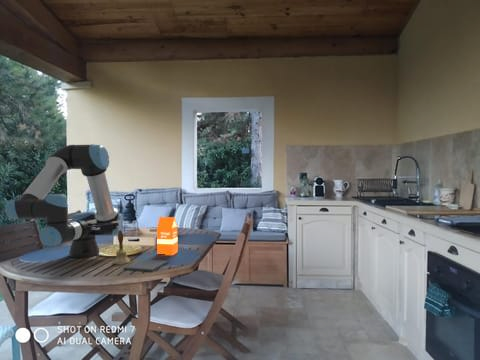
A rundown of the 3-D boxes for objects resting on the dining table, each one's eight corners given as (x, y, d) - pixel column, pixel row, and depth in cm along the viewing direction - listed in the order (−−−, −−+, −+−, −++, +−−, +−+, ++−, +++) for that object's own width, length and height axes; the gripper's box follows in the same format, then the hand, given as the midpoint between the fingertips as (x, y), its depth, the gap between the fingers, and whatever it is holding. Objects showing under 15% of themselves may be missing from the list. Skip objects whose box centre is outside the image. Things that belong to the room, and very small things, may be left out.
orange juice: (172, 255, 193) (171, 218, 192) (157, 254, 194) (156, 218, 193) (177, 251, 200) (177, 216, 199) (163, 251, 202) (162, 215, 201)
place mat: (123, 269, 168) (123, 267, 168) (141, 260, 182) (141, 258, 182) (152, 271, 163) (152, 269, 163) (168, 262, 178) (168, 260, 178)
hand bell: (114, 265, 175) (113, 232, 174) (111, 261, 182) (111, 230, 181) (131, 263, 178) (131, 231, 178) (128, 259, 186) (127, 228, 185)
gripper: (51, 237, 153) (86, 229, 173) (101, 240, 146) (131, 231, 166) (50, 220, 153) (85, 214, 173) (100, 222, 146) (130, 215, 166)
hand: (108, 222), depth 170 cm, fingers open, 13 cm apart
